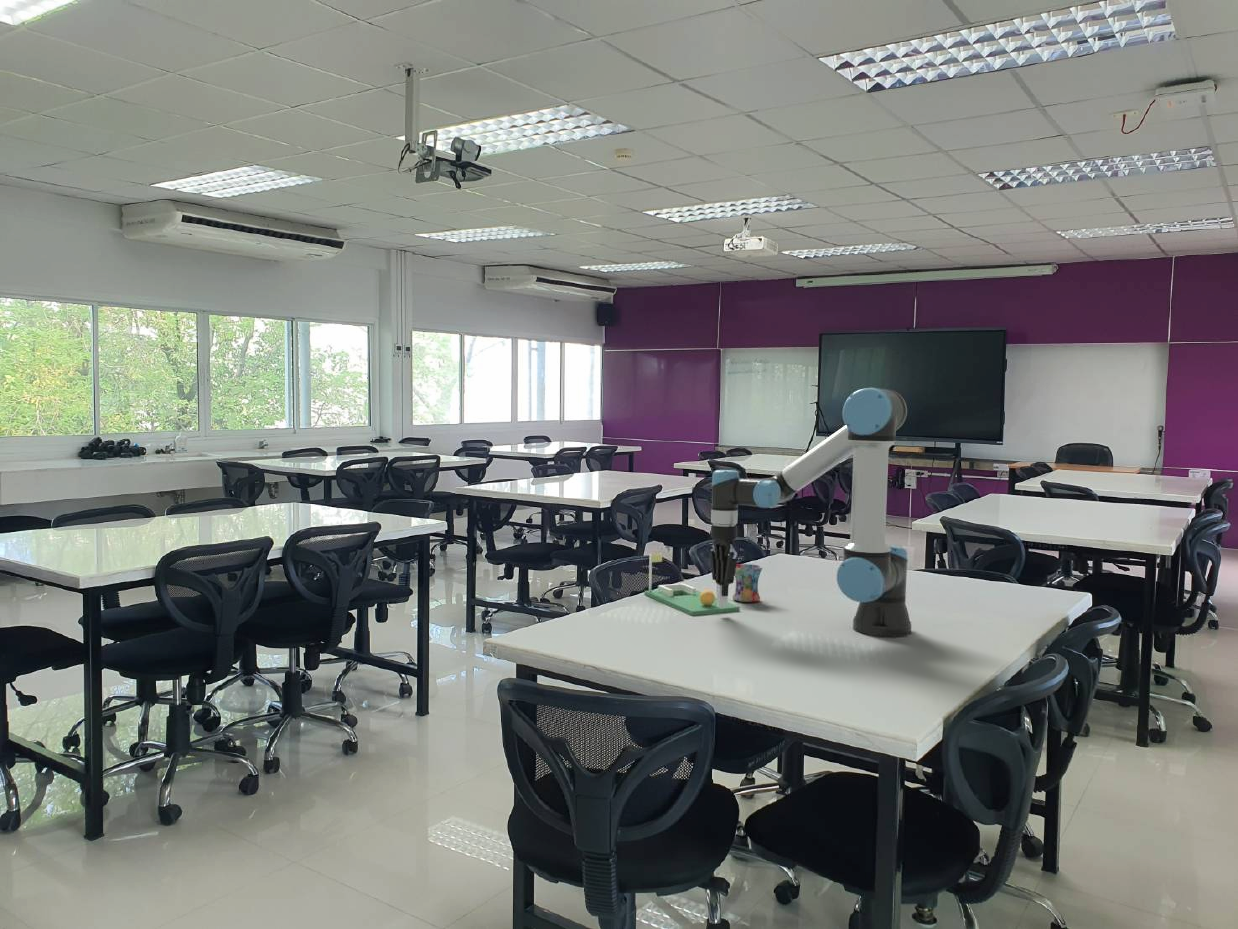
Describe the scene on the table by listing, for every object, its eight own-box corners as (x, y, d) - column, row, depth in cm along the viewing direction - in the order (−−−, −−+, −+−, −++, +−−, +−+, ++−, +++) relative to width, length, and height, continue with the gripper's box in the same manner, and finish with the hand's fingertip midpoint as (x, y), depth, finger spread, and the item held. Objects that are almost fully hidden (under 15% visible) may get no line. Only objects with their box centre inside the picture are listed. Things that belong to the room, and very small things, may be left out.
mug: (754, 605, 261) (755, 570, 261) (726, 601, 266) (727, 567, 266) (769, 598, 272) (770, 564, 271) (742, 594, 276) (743, 561, 276)
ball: (717, 606, 253) (718, 591, 253) (704, 607, 251) (704, 592, 251) (709, 603, 257) (710, 588, 257) (696, 604, 256) (697, 589, 255)
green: (739, 611, 253) (740, 566, 253) (691, 615, 247) (693, 569, 246) (688, 591, 280) (689, 550, 280) (644, 594, 274) (645, 553, 273)
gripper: (748, 526, 241) (745, 610, 243) (723, 521, 253) (721, 600, 254) (725, 528, 238) (723, 612, 239) (701, 522, 250) (699, 602, 251)
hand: (722, 606), depth 247 cm, fingers closed
